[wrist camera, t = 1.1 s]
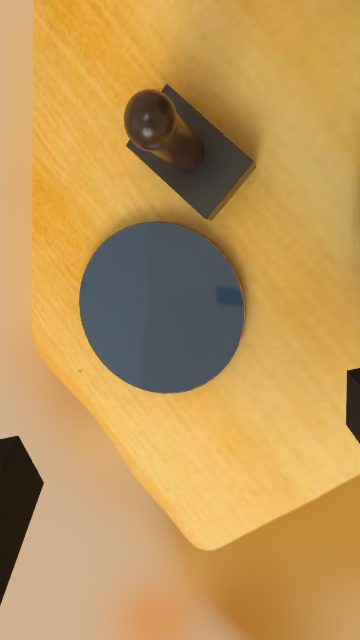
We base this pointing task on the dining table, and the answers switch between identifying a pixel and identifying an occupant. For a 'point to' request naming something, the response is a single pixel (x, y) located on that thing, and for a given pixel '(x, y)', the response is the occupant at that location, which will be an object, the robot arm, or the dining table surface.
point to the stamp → (185, 149)
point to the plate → (162, 307)
